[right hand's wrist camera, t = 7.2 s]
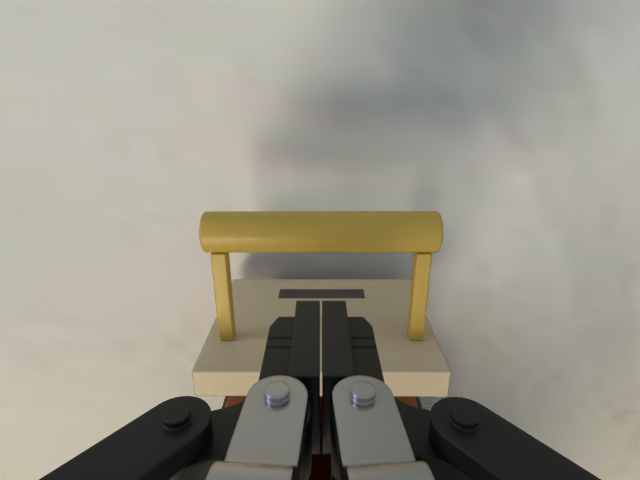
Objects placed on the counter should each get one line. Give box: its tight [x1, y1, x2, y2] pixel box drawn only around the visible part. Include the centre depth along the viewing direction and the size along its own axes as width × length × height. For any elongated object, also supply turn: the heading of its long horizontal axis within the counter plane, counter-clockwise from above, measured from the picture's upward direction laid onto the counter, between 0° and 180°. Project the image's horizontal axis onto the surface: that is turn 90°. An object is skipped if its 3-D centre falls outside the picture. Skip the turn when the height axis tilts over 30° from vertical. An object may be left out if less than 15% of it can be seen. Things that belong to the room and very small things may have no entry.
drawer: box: [192, 211, 451, 480], centre depth 21 cm, size 20×10×8 cm, turn 0°
